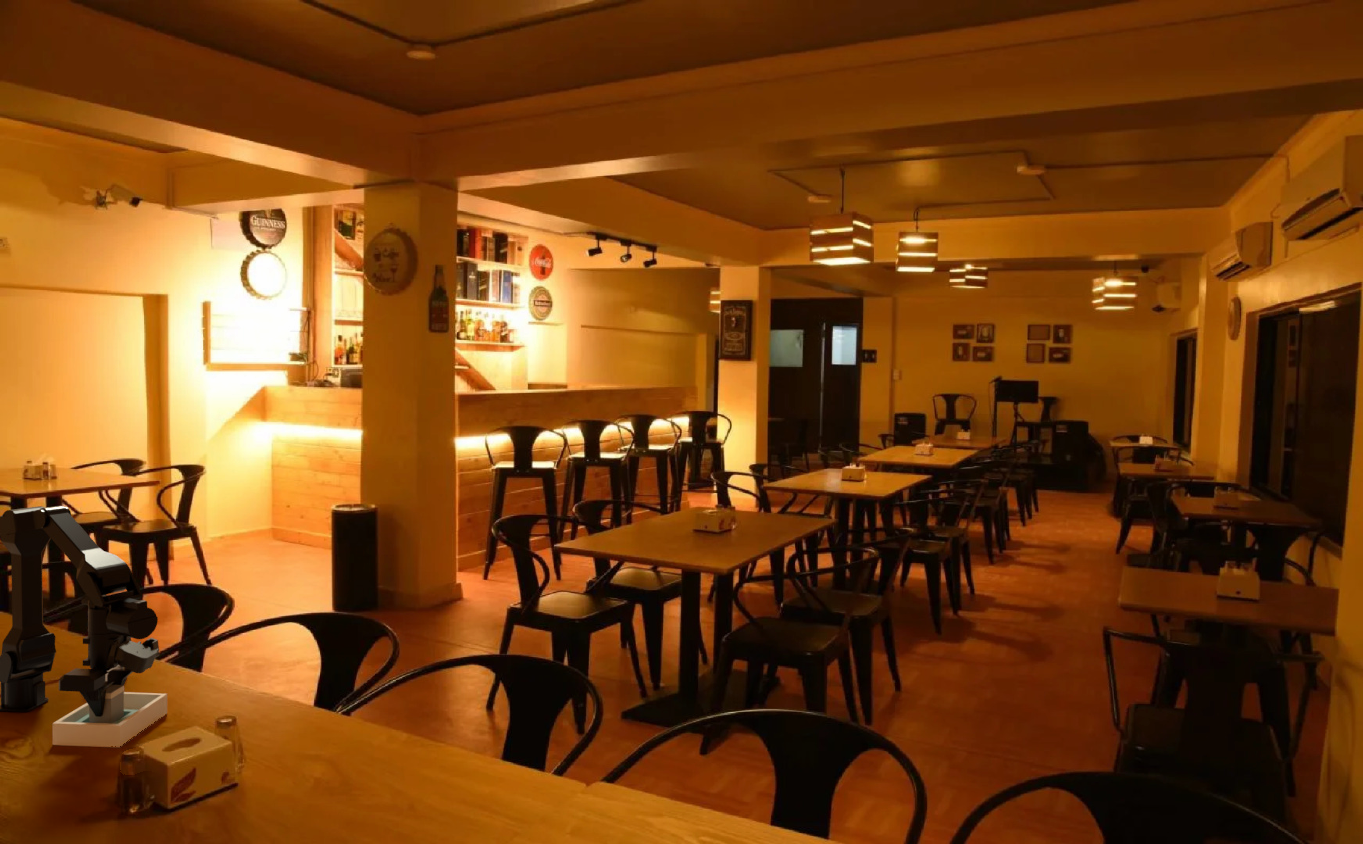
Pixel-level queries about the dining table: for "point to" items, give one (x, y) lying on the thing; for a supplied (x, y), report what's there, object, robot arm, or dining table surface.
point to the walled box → (136, 718)
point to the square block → (110, 706)
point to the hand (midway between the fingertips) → (106, 712)
